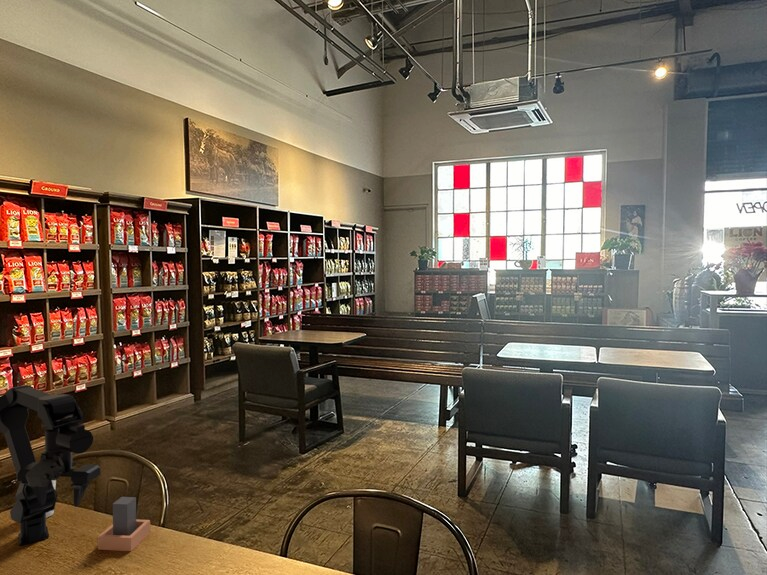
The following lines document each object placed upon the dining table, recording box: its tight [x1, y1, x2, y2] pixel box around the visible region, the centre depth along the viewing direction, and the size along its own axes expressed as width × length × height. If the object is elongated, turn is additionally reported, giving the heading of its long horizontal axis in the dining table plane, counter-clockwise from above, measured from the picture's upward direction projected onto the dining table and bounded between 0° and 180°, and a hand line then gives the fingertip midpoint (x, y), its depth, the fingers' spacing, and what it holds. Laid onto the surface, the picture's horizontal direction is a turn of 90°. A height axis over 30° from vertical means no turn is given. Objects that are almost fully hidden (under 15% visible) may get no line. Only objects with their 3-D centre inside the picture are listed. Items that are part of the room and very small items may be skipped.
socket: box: [97, 518, 151, 552], centre depth 131 cm, size 9×9×4 cm
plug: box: [112, 496, 137, 536], centre depth 131 cm, size 4×4×11 cm
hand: (59, 505), depth 126 cm, fingers open, 9 cm apart
